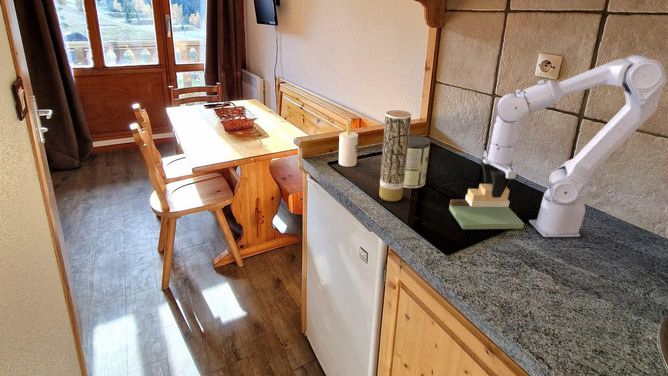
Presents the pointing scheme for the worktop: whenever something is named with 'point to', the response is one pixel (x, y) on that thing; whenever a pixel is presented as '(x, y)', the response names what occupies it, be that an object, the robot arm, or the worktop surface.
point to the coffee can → (416, 161)
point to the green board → (484, 216)
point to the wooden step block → (486, 197)
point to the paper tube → (394, 154)
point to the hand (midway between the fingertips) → (492, 193)
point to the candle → (348, 148)
